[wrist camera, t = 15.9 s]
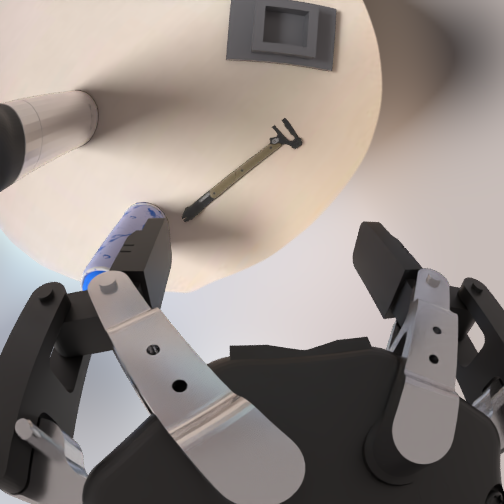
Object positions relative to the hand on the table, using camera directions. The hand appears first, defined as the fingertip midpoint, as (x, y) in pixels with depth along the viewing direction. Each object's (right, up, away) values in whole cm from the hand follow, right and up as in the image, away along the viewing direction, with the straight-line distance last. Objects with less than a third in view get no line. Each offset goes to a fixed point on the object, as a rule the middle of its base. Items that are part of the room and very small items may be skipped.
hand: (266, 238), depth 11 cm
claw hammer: (-3, +12, +28) cm, 31 cm away
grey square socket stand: (+3, +29, +17) cm, 34 cm away
